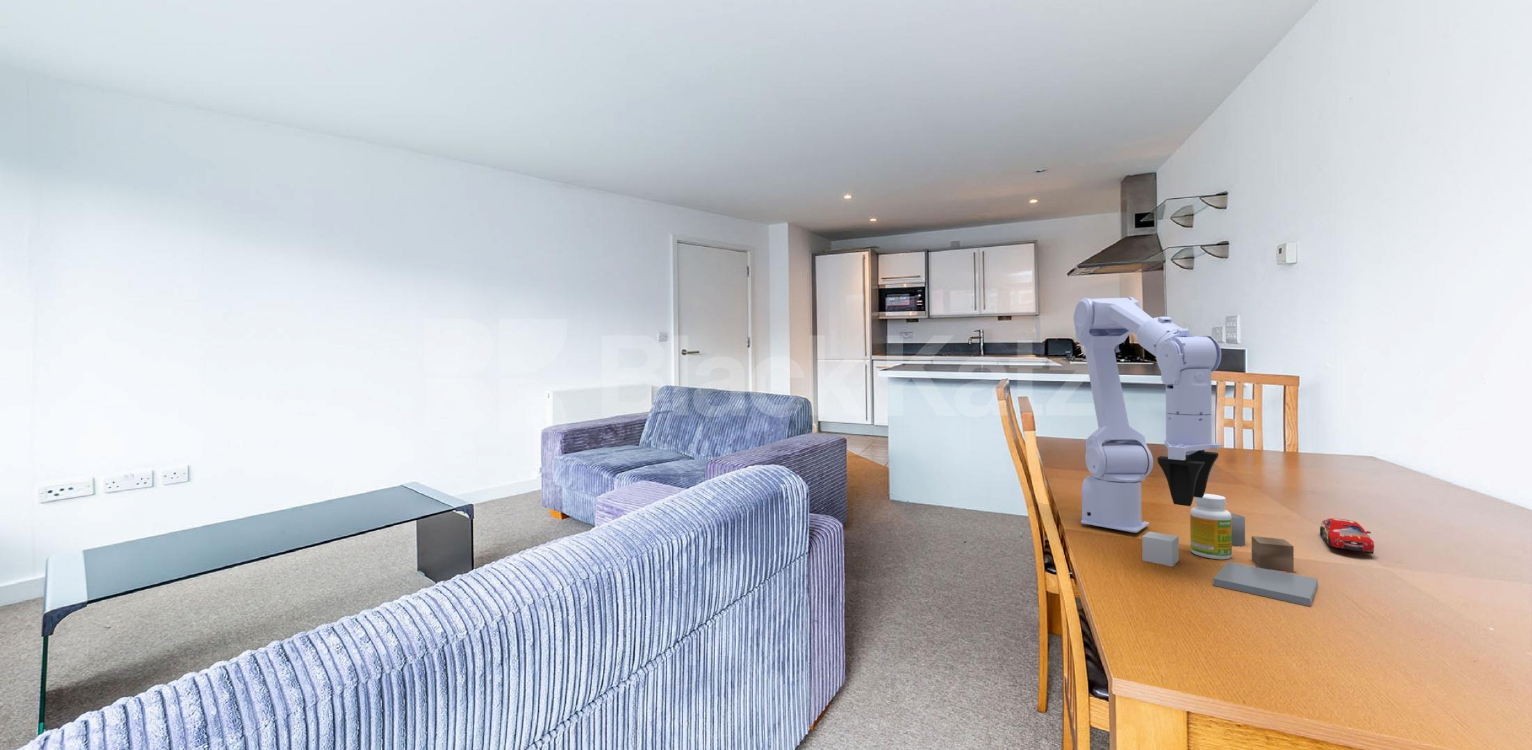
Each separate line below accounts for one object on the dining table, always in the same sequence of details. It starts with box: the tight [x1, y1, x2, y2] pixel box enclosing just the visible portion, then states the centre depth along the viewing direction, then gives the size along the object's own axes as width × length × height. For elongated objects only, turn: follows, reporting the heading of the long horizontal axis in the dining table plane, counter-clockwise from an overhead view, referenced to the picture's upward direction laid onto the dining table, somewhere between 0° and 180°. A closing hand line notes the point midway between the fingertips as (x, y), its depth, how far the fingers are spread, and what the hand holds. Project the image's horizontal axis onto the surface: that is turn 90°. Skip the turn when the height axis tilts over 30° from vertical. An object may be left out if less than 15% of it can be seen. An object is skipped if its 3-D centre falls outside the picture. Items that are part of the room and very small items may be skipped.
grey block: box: [1141, 531, 1180, 567], centre depth 92 cm, size 4×4×4 cm
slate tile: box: [1212, 561, 1319, 607], centre depth 81 cm, size 10×10×1 cm
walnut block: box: [1251, 535, 1295, 573], centre depth 88 cm, size 4×4×4 cm
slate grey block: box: [1230, 513, 1246, 547], centre depth 99 cm, size 4×4×5 cm
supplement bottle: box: [1189, 493, 1233, 560], centre depth 94 cm, size 5×5×10 cm
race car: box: [1319, 518, 1375, 555], centre depth 96 cm, size 13×5×4 cm, turn 141°
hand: (1188, 500), depth 89 cm, fingers open, 7 cm apart
